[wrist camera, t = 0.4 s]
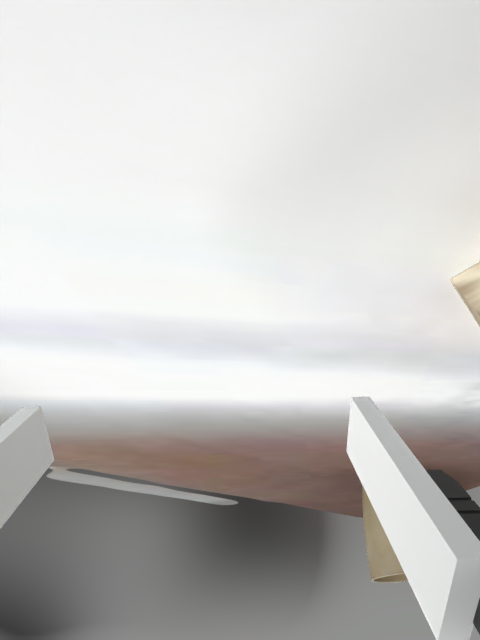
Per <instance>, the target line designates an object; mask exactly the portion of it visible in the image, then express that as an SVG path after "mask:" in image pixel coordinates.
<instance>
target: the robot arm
mask: <svg viewBox="0 0 480 640" xmlns="http://www.w3.org/2000/svg"><path fill="white" fill-rule="evenodd" d="M347 454H348V456H349V458H350V460H351V462H352V464H353V466H354V468H355V470H356V472H357V475H358V477H359V479H360V481H361V483H362V485H363V487H364V489H365V491H366V493H367V495H368V498H369V500H370V502H371V504H372V506H373V508H374V510H375V512H376V514H377V516H378V518H379V521H380V523H381V525H382V527H383V529H384V531H385V533H386V535H387V537H388V539H389V541H390V544H391V546H392V548H393V550H394V552H395V554H396V556H397V558H398V560H399V562H400V565H401V567H402V569H403V571H404V573H405V575H406V577H407V579H408V581H409V583H410V585H411V588H412V589H413V592H414V594H415V596H416V598H417V600H418V602H419V604H420V606H421V608H422V611H423V613H424V615H425V617H426V619H427V621H428V623H429V625H430V627H431V629H432V631H433V634H434V636H435V638H436V640H470V636H471V633H472V629H473V626H474V625H475V627H476V629H477V631H478V632H479V634H480V507H479V506H478V505H477V504H476V503H475V502H474V501H472V500H471V497H470V496H469V495H468V493H467V492H466V491H465V490H464V489H463V488H462V486H461V485H460V484H459V483H458V482H457V481H455V480H454V479H453V478H451V477H450V476H449V475H447V474H446V473H444V472H443V471H442V470H429V471H426V470H425V469H424V468H423V466H422V465H421V464H420V462H419V461H418V460H417V459H416V457H415V456H414V455H413V453H412V452H411V451H410V449H409V448H408V447H407V445H406V444H405V443H404V441H403V440H402V439H401V438H400V436H399V435H398V434H397V432H396V431H395V430H394V428H393V427H392V426H391V424H390V423H389V422H388V421H387V419H386V418H385V417H384V415H383V414H382V413H381V411H380V410H379V409H378V407H377V406H376V405H375V404H374V402H373V401H372V400H371V398H370V397H351V405H350V416H349V428H348V440H347ZM53 461H54V457H53V453H52V449H51V445H50V441H49V437H48V433H47V429H46V425H45V421H44V417H43V413H42V409H41V406H36V407H22V408H21V409H20V410H19V411H17V412H16V413H15V414H14V415H13V416H11V417H10V418H9V419H8V420H7V421H6V422H4V423H3V424H2V425H1V426H0V529H1V527H2V526H3V525H4V524H5V522H6V521H7V520H8V518H9V517H10V516H11V515H12V513H13V512H14V511H15V509H16V508H17V507H18V506H19V504H20V503H21V502H22V501H23V499H24V498H25V497H26V495H27V494H28V493H29V491H30V490H31V489H32V488H33V486H34V485H35V483H37V481H38V480H39V479H40V478H41V476H42V475H43V474H44V472H45V471H46V470H47V468H48V467H49V466H50V465H51V463H52V462H53Z"/></svg>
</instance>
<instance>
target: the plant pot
mask: <svg viewBox="0 0 480 640" xmlns="http://www.w3.org/2000/svg"><path fill="white" fill-rule="evenodd" d="M363 522H364V533H365V543H366V550H367V557H368V563H369V569H370V575H371V581H372V582H378V583H391V582H409V581H408V579H407V577H406V575H405V573H404V571H403V569H402V567H401V565H400V562H399V560H398V558H397V556H396V554H395V552H394V550H393V548H392V546H391V544H390V541H389V539H388V537H387V535H386V533H385V531H384V529H383V527H382V525H381V523H380V521H379V518H378V516H377V514H376V512H375V510H374V508H373V506H372V504H371V502H370V500H369V498H368V495H367V493H366V491H365V489H364V487H363Z"/></svg>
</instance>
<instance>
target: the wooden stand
mask: <svg viewBox="0 0 480 640" xmlns="http://www.w3.org/2000/svg"><path fill="white" fill-rule="evenodd" d="M450 281H451V283H452V284H453V286H454V287H455V289H456V290H457V292H458V294H459V295H460V297H461V298H462V300H463V301H464V303H465V304H466V306H467V308H468V309H469V311H470V312H471V314H472V315H473V317H474V318H475V320H476V322H477V323H478V325H479V326H480V262H479V263H478V264H476V265H474V266H472V267H471V268H469V269H467V270H465V271H464V272H462V273H460V274H458V275H456V276H455V277H453V278H451V279H450Z"/></svg>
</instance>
